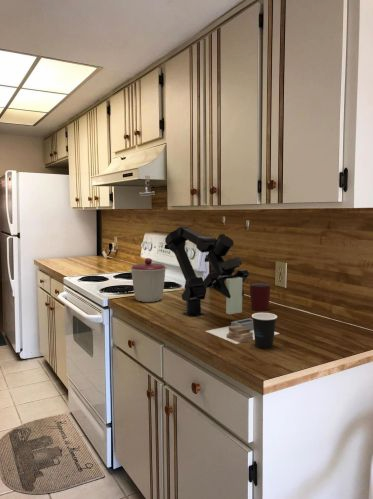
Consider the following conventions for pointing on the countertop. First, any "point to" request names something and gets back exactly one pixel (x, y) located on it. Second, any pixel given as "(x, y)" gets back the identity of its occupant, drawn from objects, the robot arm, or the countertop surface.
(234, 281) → the green board
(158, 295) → the canister
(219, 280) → the robot arm
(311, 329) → the countertop surface
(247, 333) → the offcut stack
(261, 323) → the dixie cup
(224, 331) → the white flat slab
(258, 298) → the mug
